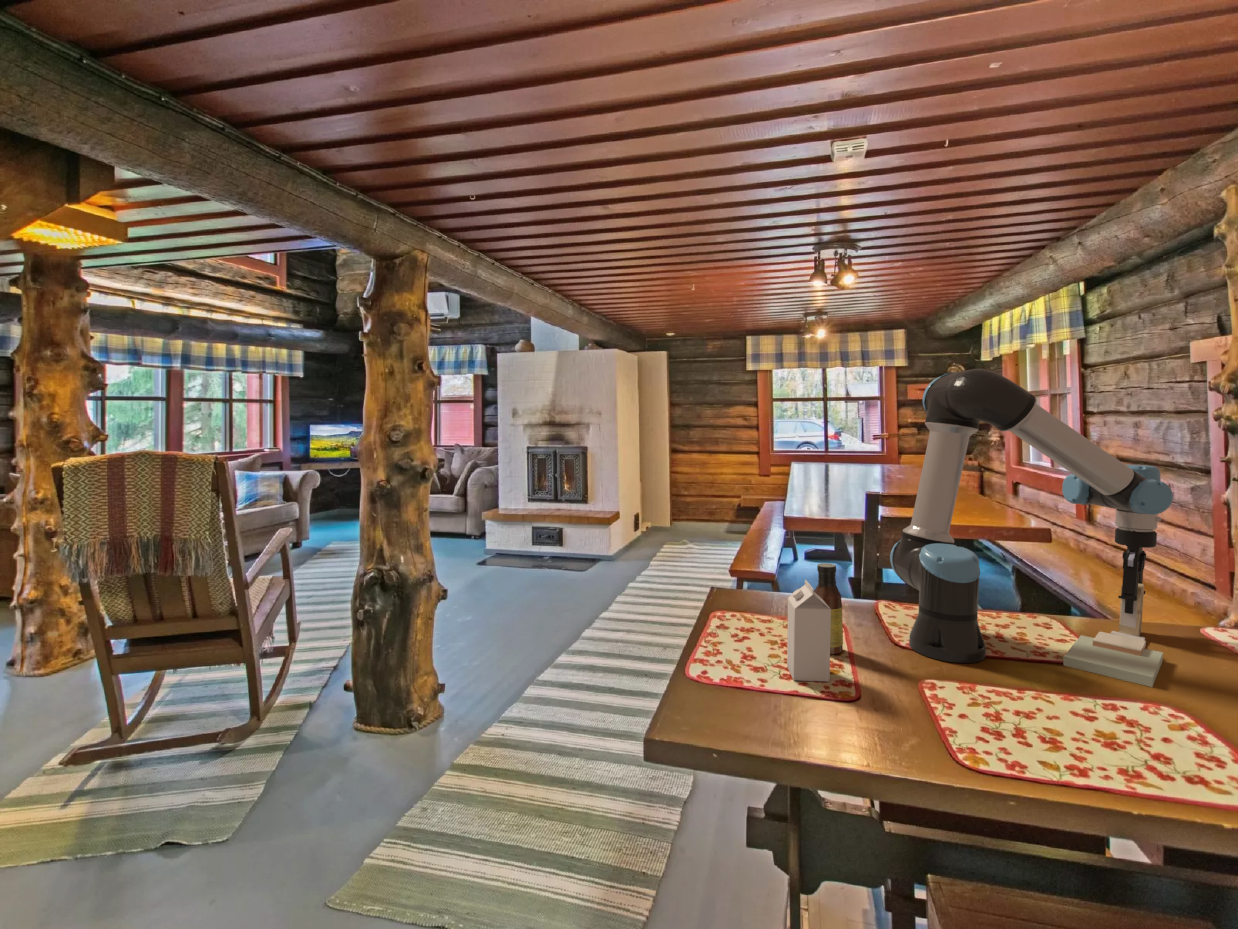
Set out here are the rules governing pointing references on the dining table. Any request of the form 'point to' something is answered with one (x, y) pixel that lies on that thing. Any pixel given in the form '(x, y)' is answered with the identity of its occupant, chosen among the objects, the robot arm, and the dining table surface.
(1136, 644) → the tile
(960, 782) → the dining table surface
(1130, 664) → the grooved block
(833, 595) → the sauce bottle
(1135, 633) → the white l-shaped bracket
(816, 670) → the milk carton
